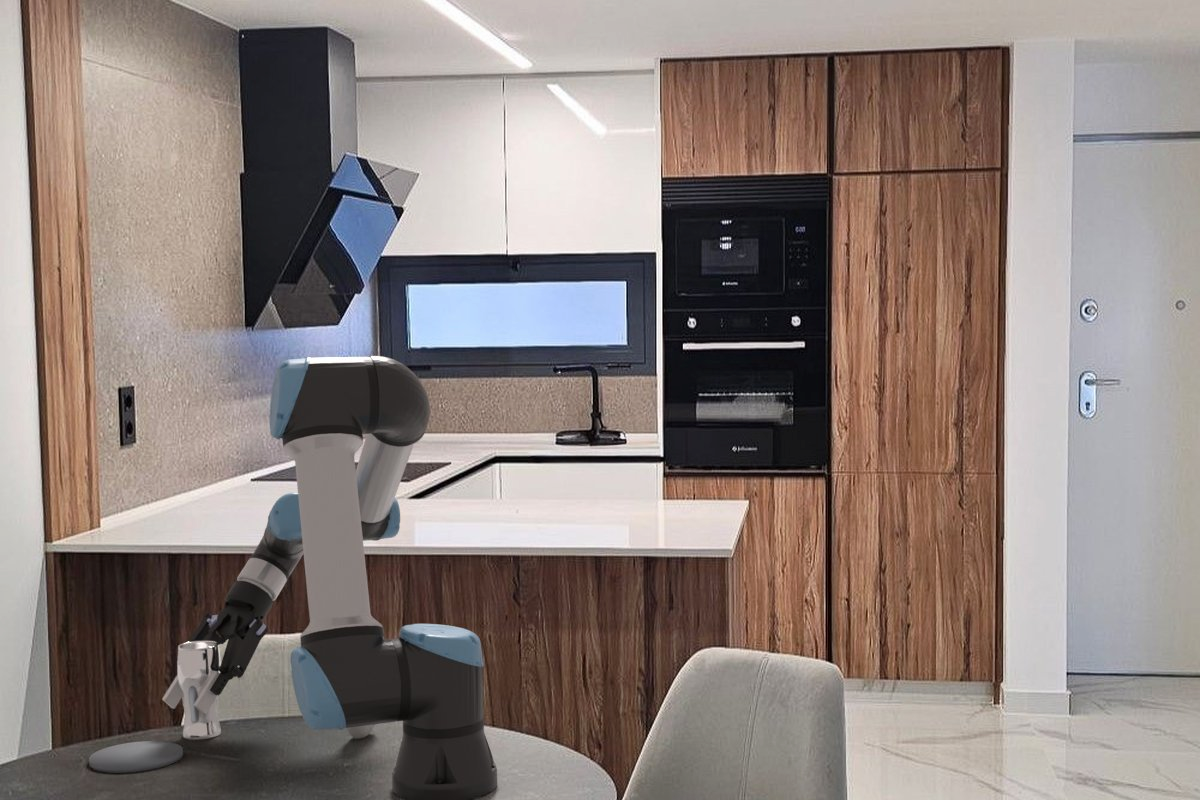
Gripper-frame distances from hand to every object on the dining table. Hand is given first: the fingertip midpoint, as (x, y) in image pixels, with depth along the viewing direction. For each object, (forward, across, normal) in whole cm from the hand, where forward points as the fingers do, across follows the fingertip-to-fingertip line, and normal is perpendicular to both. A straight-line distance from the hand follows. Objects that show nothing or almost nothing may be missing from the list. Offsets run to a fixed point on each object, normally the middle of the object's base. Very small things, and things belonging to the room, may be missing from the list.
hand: (184, 706), depth 238 cm
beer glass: (+2, 0, -6) cm, 7 cm away
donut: (-7, -24, -15) cm, 29 cm away
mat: (+12, -2, +4) cm, 12 cm away
